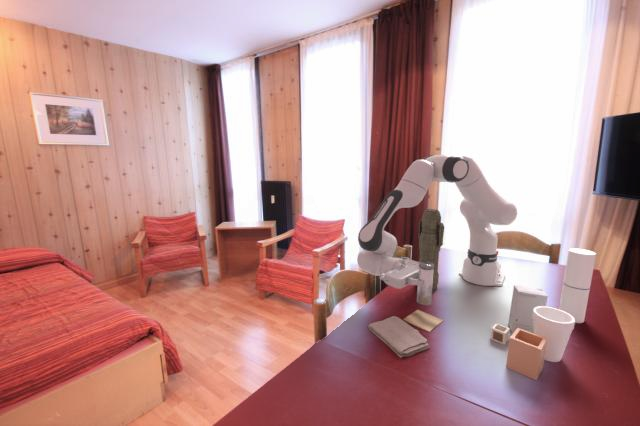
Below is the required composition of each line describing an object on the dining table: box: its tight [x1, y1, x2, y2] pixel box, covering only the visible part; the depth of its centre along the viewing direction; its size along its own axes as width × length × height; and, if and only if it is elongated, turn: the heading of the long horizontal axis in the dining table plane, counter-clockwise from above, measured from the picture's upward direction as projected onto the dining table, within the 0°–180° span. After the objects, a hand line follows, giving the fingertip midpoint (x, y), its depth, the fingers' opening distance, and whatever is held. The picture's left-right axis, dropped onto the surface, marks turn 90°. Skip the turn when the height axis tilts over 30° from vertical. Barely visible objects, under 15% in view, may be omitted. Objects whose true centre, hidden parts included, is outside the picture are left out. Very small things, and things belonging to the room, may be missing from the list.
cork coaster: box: [402, 309, 444, 333], centre depth 105 cm, size 10×10×1 cm
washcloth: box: [367, 315, 430, 359], centre depth 95 cm, size 12×18×3 cm, turn 26°
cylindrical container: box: [558, 247, 597, 324], centre depth 104 cm, size 7×7×25 cm
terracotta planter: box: [505, 328, 548, 381], centre depth 81 cm, size 7×7×9 cm
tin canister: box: [416, 262, 434, 306], centre depth 102 cm, size 5×5×14 cm
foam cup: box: [533, 305, 576, 363], centre depth 85 cm, size 10×9×13 cm
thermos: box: [416, 208, 445, 292], centre depth 129 cm, size 9×12×35 cm
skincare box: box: [507, 284, 549, 334], centre depth 97 cm, size 8×6×15 cm
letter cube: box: [489, 322, 511, 346], centre depth 94 cm, size 4×4×4 cm
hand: (427, 281), depth 101 cm, fingers closed on tin canister, 5 cm apart
